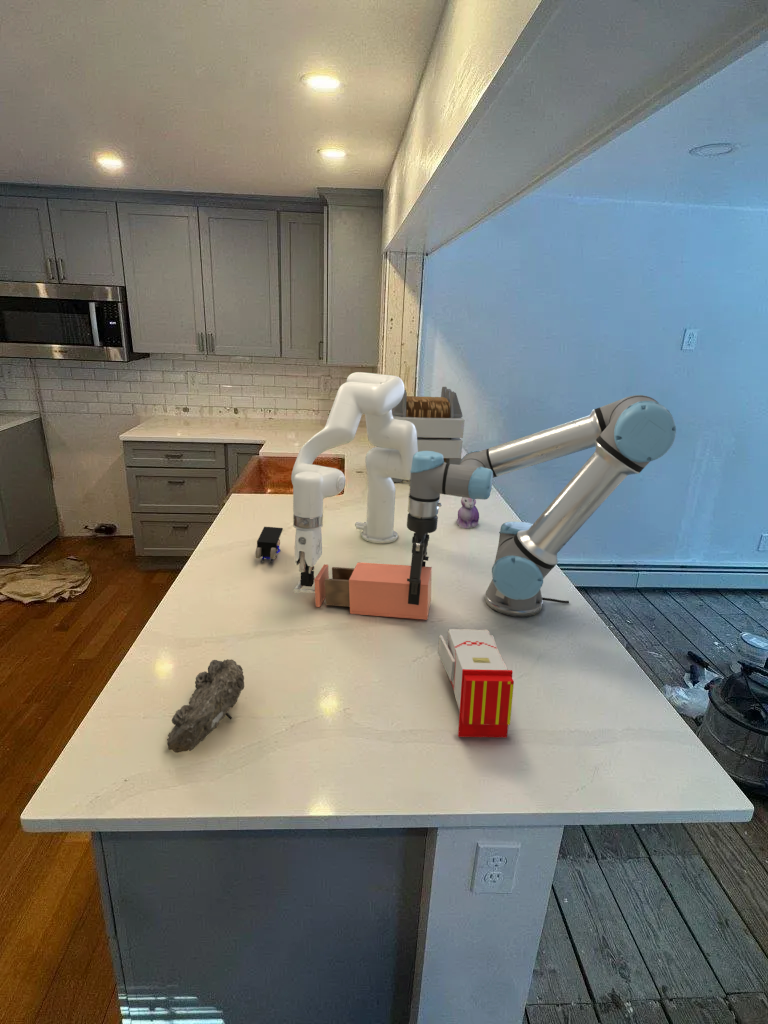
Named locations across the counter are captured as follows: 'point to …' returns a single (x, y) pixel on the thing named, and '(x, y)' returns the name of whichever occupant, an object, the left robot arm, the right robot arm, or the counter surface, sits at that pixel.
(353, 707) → the counter surface
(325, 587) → the drawer
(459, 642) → the toy
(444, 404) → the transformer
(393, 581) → the cabinet
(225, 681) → the fossil
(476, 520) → the figurine
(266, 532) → the figurine character
